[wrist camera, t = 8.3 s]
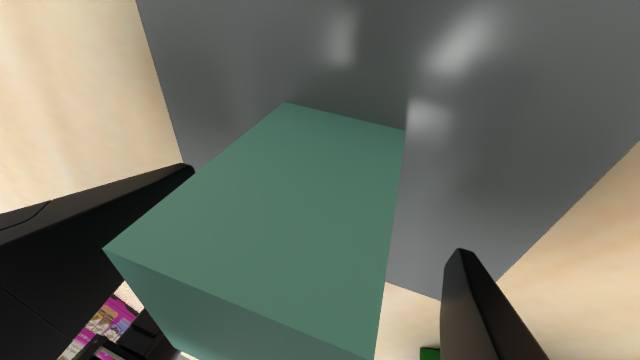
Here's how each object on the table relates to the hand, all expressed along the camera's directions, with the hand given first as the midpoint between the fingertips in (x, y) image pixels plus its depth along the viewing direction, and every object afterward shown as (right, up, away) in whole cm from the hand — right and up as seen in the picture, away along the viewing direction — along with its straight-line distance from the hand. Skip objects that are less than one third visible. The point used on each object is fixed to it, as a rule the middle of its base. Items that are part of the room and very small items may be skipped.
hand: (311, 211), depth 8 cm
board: (+1, +2, +3) cm, 4 cm away
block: (+1, +2, +2) cm, 3 cm away
